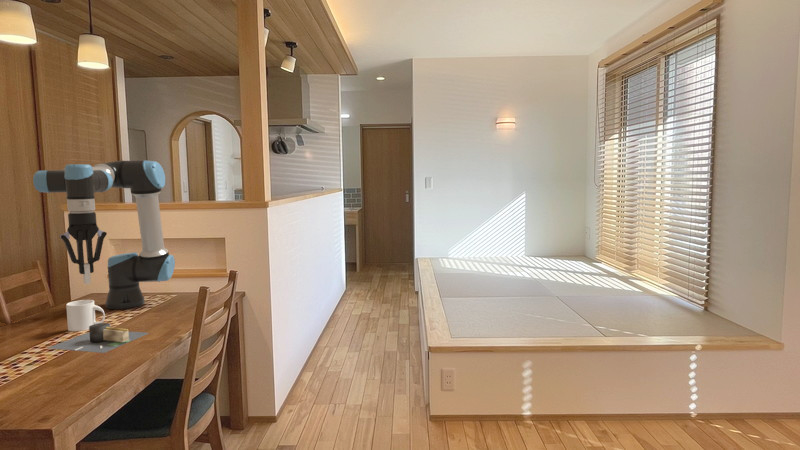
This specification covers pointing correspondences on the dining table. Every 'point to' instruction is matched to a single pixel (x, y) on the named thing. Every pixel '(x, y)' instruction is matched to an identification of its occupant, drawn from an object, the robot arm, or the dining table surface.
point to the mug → (82, 315)
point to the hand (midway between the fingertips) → (87, 283)
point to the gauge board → (85, 345)
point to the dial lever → (107, 333)
